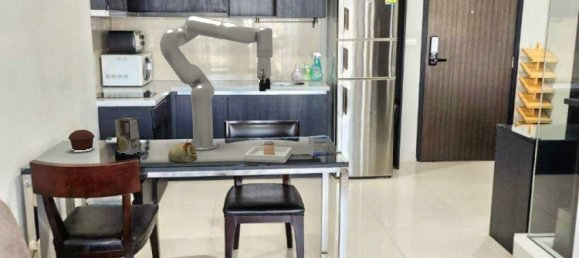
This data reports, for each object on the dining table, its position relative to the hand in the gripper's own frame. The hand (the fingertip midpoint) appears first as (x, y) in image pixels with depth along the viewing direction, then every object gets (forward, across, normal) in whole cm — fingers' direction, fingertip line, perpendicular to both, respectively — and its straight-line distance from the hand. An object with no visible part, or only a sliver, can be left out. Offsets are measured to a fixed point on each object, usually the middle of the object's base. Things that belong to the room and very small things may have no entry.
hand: (264, 90), depth 242 cm
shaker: (+27, +19, +6) cm, 34 cm away
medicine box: (+29, +9, +27) cm, 40 cm away
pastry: (+29, +29, -31) cm, 51 cm away
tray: (+28, +19, +6) cm, 35 cm away
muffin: (+29, +21, -85) cm, 92 cm away
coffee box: (+28, +21, -61) cm, 71 cm away
